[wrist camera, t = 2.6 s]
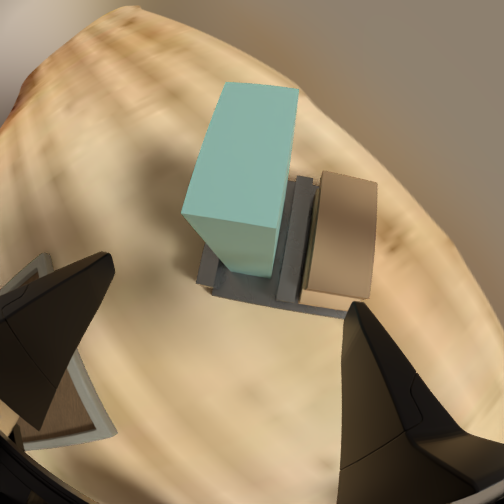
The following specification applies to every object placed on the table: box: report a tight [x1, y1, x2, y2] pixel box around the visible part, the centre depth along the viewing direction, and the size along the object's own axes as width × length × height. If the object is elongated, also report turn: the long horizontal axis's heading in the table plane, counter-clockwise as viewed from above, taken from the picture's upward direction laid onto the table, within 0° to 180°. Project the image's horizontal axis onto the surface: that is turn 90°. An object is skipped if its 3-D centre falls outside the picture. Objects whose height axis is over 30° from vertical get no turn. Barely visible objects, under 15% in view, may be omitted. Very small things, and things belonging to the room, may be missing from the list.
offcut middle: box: [298, 188, 361, 311], centre depth 18 cm, size 8×4×1 cm, turn 169°
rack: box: [196, 176, 348, 319], centre depth 20 cm, size 10×11×3 cm
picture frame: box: [0, 253, 118, 451], centre depth 19 cm, size 19×2×30 cm
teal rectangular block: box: [181, 82, 299, 279], centre depth 15 cm, size 6×3×12 cm, turn 169°
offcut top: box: [305, 171, 377, 300], centre depth 17 cm, size 8×4×1 cm, turn 169°
